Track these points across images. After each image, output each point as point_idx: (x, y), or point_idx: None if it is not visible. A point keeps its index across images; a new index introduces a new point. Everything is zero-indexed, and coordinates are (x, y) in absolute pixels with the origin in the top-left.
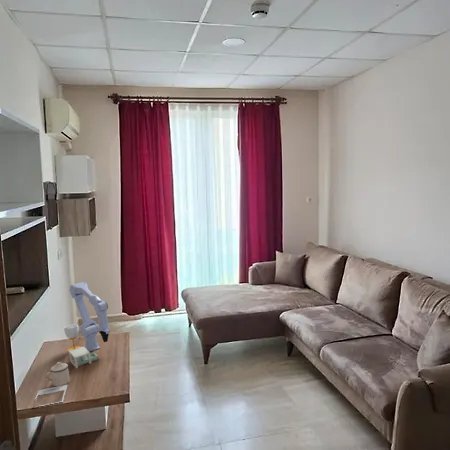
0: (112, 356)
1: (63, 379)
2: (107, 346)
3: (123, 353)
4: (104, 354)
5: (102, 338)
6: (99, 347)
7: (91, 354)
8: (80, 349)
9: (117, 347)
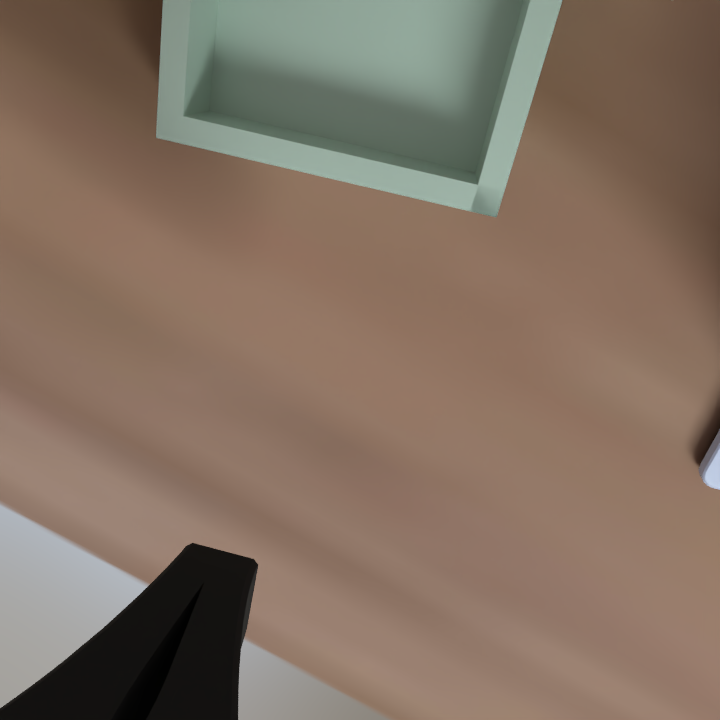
0: (102, 371)
1: None
2: (617, 576)
3: (75, 522)
4: (324, 346)
5: (229, 647)
6: (718, 477)
7: (492, 123)
8: None
9: (391, 614)
